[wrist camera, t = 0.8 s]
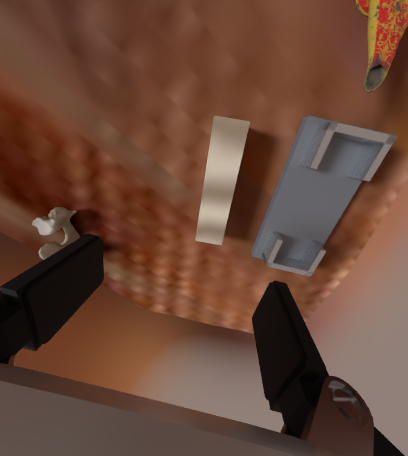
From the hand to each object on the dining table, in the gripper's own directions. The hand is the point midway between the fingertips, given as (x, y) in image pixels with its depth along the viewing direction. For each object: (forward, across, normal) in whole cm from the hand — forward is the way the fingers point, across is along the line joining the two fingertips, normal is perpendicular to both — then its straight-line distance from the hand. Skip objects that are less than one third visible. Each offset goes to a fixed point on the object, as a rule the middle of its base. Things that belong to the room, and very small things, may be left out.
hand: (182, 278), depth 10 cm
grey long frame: (+18, -15, -2) cm, 24 cm away
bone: (+20, +25, +11) cm, 34 cm away
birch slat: (+20, -1, -2) cm, 20 cm away
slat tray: (+20, -15, -2) cm, 25 cm away
